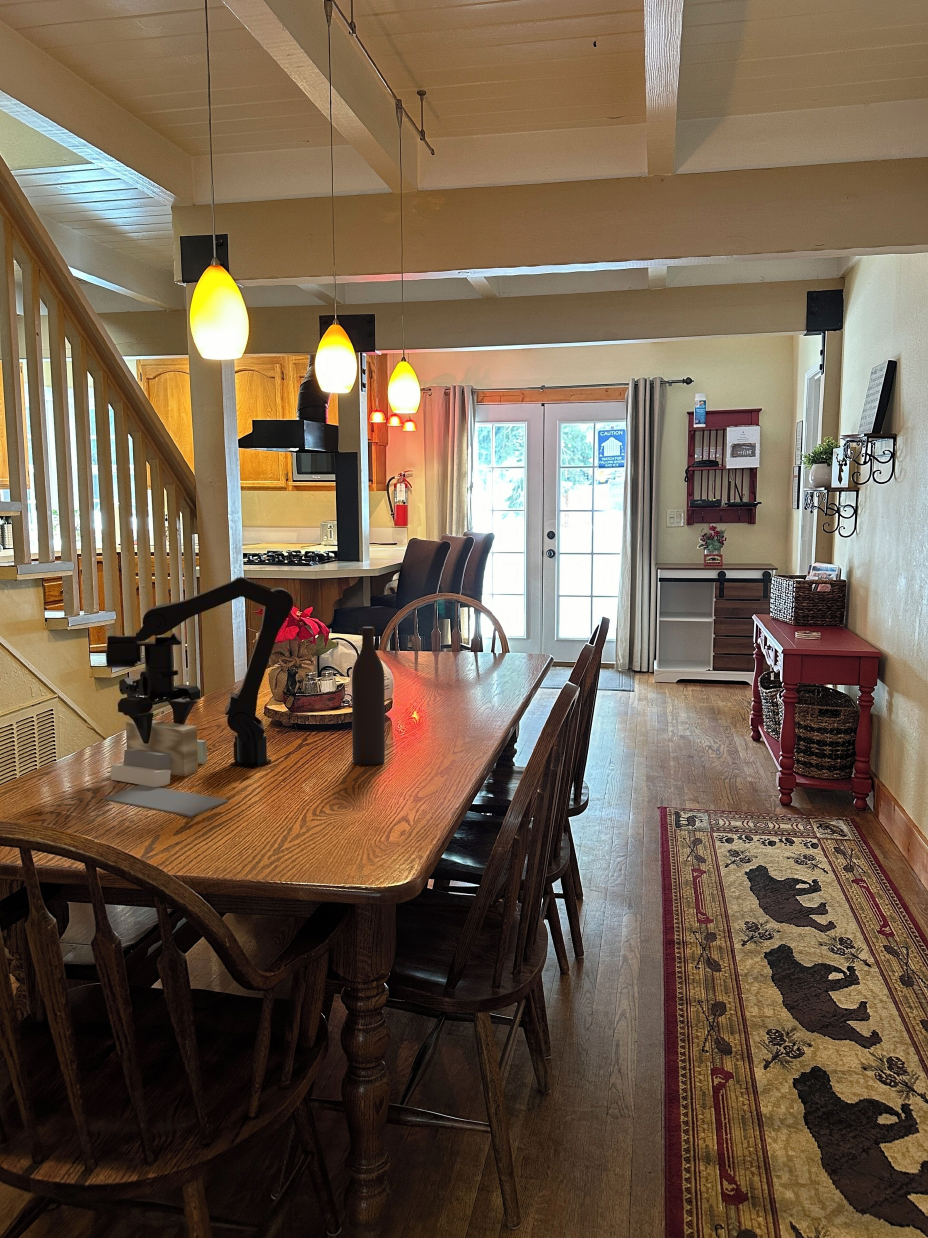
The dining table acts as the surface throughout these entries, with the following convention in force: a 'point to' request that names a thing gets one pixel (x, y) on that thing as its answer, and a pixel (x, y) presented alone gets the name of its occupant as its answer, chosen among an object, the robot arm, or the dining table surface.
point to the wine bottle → (368, 704)
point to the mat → (166, 800)
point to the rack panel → (202, 751)
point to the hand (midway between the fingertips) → (162, 738)
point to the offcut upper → (147, 759)
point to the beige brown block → (169, 744)
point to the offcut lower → (140, 775)
